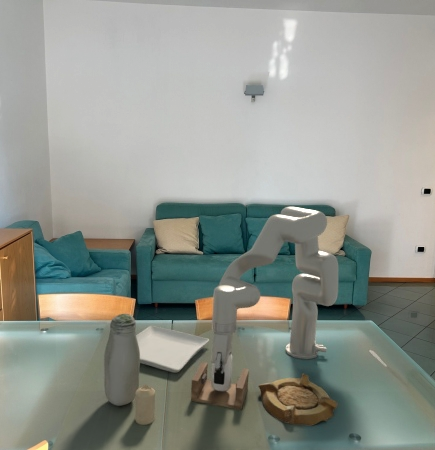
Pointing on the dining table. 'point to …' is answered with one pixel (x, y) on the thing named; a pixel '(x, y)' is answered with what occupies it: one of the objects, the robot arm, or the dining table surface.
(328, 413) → the ashtray
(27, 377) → the dining table surface
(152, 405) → the candle
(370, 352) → the butter knife
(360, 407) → the dining table surface
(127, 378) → the gray bottle
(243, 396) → the holder
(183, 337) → the square plate
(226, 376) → the can
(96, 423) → the dining table surface
